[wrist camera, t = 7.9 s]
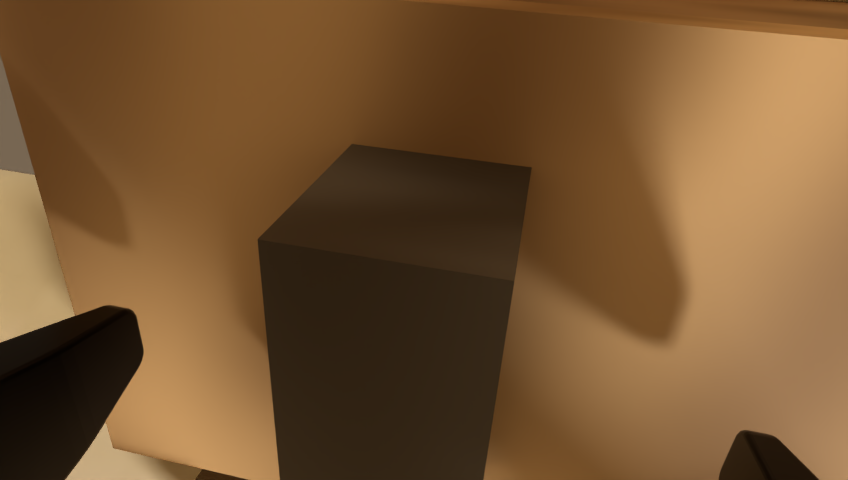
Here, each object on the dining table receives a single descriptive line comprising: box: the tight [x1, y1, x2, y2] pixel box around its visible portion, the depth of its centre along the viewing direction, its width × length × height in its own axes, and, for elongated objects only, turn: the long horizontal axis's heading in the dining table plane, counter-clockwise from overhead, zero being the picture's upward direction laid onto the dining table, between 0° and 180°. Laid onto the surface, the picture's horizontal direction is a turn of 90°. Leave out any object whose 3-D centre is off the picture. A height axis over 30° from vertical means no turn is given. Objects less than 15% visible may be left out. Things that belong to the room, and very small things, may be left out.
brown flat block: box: [512, 0, 848, 29], centre depth 13 cm, size 14×10×5 cm
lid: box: [0, 0, 848, 480], centre depth 9 cm, size 14×10×5 cm
